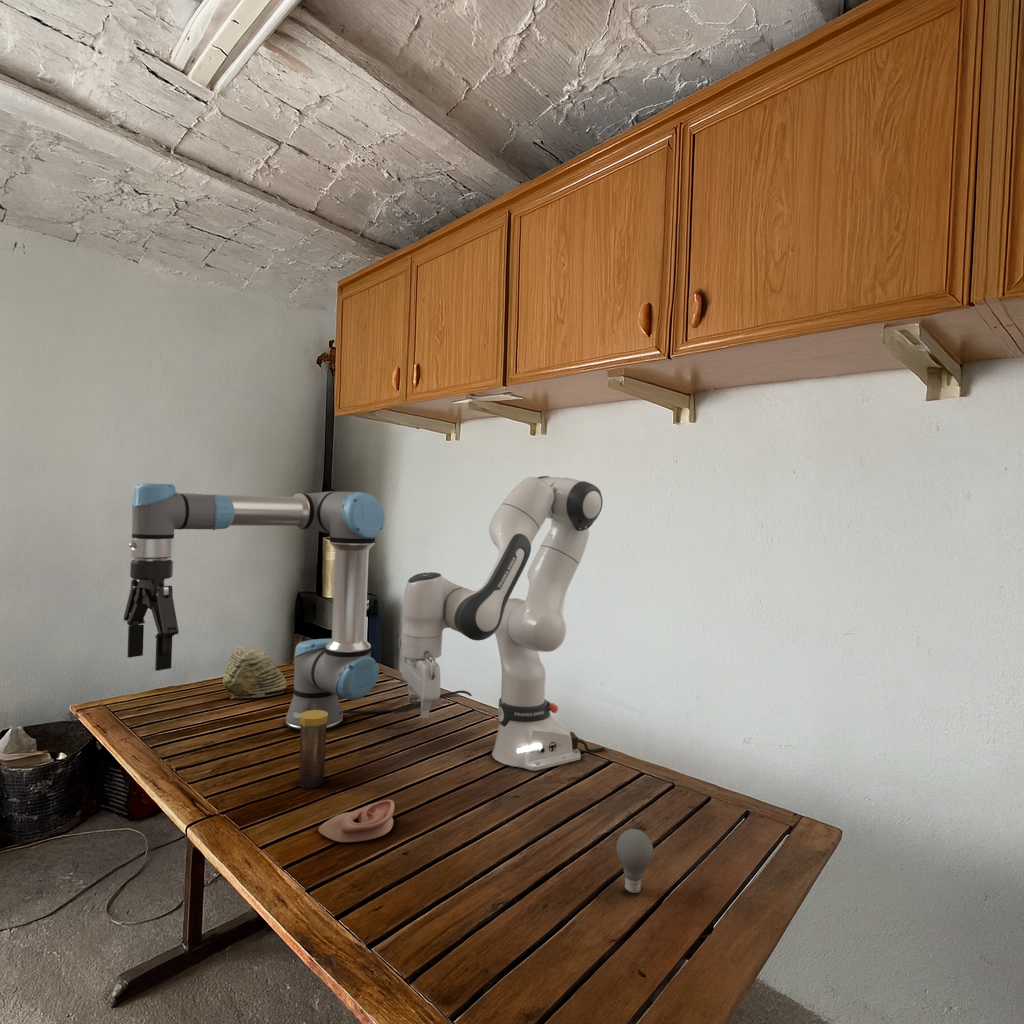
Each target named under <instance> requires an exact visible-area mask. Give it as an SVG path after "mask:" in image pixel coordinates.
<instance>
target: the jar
mask: <svg viewBox="0 0 1024 1024" xmlns="http://www.w3.org/2000/svg"><path fill="white" fill-rule="evenodd" d="M326 723H327V722H326ZM326 723H325V724H322V725H318V726H305V725H302V724H301V730H300V731H299V733H300V734H299V735H300V736H299V755H298V756H299V758H298V759H299V760H298V786H299V787H300V788H302V789H315V788H319V787H321V786H322V785H324V783H325V771H326V749H327V747H326V745H327V730H326Z"/></svg>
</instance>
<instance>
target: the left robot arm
mask: <svg viewBox="0 0 1024 1024" xmlns="http://www.w3.org/2000/svg"><path fill="white" fill-rule="evenodd" d="M385 515H386V513H385V511H384V508H383V505H382V503H381V502H380V501H379V500H378V498H377V497H375V495H373V494H370V493H367V492H363V491H362V492H361V491H337V490H336V491H335V490H333V491H332V490H330V491H321V492H311V493H295V494H294V495H293V496H276V495H275V496H274V495H273V496H272V495H248V494H247V495H246V494H244V495H243V494H220V493H219V494H218V493H217V494H216V493H215V494H214V493H189V492H187V493H186V492H177V491H176V486H175V485H174V484H173V483H152V482H139V483H137V484H136V485H135V486H134V488H133V492H132V501H131V520H132V521H131V542H130V543H128V547H129V548H130V549H131V550H130V556H131V558H133V559H132V560H131V561H130V567H129V568H130V571H129V574H130V575H129V576H130V578H131V581H130V590H129V594H128V598H127V603H126V607H125V610H124V615H123V621H124V622H126V624H127V626H128V629H127V630H128V631H127V658H135V657H142V656H144V635H145V634H144V630H145V625H144V624H145V623H146V621H145V619H144V618H145V616H146V615H147V612H148V609H149V610H151V613H152V618H153V620H154V624H155V627H156V631H157V633H156V635H155V636H154V638H155V661H154V663H155V665H154V668H155V669H154V670H155V671H157V672H159V671H164V670H169V669H172V659H173V657H172V655H173V637H175V636H176V635H179V632H180V631H179V625H178V619H177V615H176V614H177V613H176V609H175V603H174V597H173V595H174V593H173V585H165V580H167V579H171V578H172V577H173V575H174V573H173V572H174V561H173V560H172V559H171V558H173V557H174V554H175V553H174V552H175V530H213V531H215V530H224V529H228V528H230V526H233V527H234V526H237V527H238V526H240V527H243V526H246V527H247V526H249V527H250V526H258V527H259V526H268V527H269V526H276V527H277V526H282V527H284V526H285V527H286V526H287V527H288V526H289V527H290V526H291V527H293V528H294V529H296V530H308V531H309V530H310V531H316V532H319V533H325V534H329V544H330V545H331V546H332V547H333V548H334V550H335V551H334V572H333V573H334V577H333V599H332V625H331V626H332V627H331V638H317V639H308V640H304V641H300V642H299V643H297V645H296V646H295V650H294V655H293V657H294V672H293V673H294V674H293V695H292V696H293V697H292V699H291V702H290V704H289V708H288V711H287V713H286V715H285V726H286V728H287V729H289V730H291V731H294V732H295V731H296V732H300V730H301V724H300V721H299V720H300V714H301V713H303V712H305V711H310V710H322V711H326V712H327V713H328V721H327V723H326V731H329V730H332V729H335V728H337V727H339V726H340V725H342V723H343V722H344V714H382V713H391V712H398V711H404V710H407V709H412V708H415V707H418V706H421V701H418V703H417V704H410V705H406V706H402V707H396V708H388V709H377V710H343V709H342V706H341V702H340V699H339V698H341V699H342V700H343V699H344V700H348V701H349V700H350V701H357V700H360V699H362V698H364V697H365V696H367V695H368V694H370V692H371V690H372V689H374V687H375V685H376V683H377V682H378V678H379V674H380V672H379V671H380V670H379V669H380V668H379V665H378V663H377V662H376V660H375V659H374V657H371V652H372V649H371V648H372V644H371V643H370V642H368V640H367V639H366V631H367V607H368V606H367V605H368V604H367V602H368V582H369V581H368V579H369V555H370V553H369V552H370V550H371V548H372V547H374V545H375V544H376V536H378V535H379V534H380V533H381V530H383V528H384V526H385V522H386V521H385V520H386V516H385ZM457 694H466V695H467V696H469V697H472V696H473V694H472V693H471V692H469V691H467V690H455V691H452V692H446V693H440V698H441V697H447V696H453V695H457Z"/></svg>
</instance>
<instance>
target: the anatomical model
mask: <svg viewBox="0 0 1024 1024" xmlns="http://www.w3.org/2000/svg"><path fill="white" fill-rule="evenodd" d="M394 812H395V801H394V800H392V799H384V800H380V801H377V802H373V803H370V804H368V805H365V806H363V807H360V808H357V809H355V810H353V811H348V812H343V813H340V814H337V815H334V816H333V817H331V818H330V819H328V820H326V821H325V822H323V823H322V824H321V825H320V826H319V827H318V829H317V830H318V832H319V834H321V835H322V836H324V837H325V838H328V839H330V840H332V841H334V842H337V843H355V842H363V841H370V840H374V839H376V838H380V837H382V836H384V835H386V834H388V833H389V832H390V831H391V830H392V828H393V826H394V818H393V815H394Z"/></svg>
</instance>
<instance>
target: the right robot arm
mask: <svg viewBox="0 0 1024 1024" xmlns="http://www.w3.org/2000/svg"><path fill="white" fill-rule="evenodd" d="M603 504H604V503H603V496H602V491H601V490H600V488H599V487H598V486H596V485H594V484H593V483H591V482H588V481H585V480H578V479H575V478H570V477H558V476H557V477H556V476H548V475H543V476H538V477H536V476H535V477H534V476H529V477H526V478H524V479H522V481H520V483H519V482H518V484H517V485H516V486H515V487H514V488H513V489H512V490H511V491H510V492H509V494H508V495H507V496H506V498H505V499H504V500H503V501H502V502H501V504H500V505H499V507H498V508H497V510H496V511H495V513H494V514H493V516H492V518H491V520H490V523H489V526H488V532H489V537H490V539H491V541H492V543H493V545H494V546H495V547H496V548H497V550H498V556H497V560H496V561H495V564H494V565H493V567H492V569H491V571H490V573H489V574H488V576H487V578H486V580H485V582H484V583H483V585H482V586H481V587H480V588H479V589H476V590H474V589H473V590H472V589H470V588H468V587H463V586H461V585H458V584H455V583H454V582H451V581H450V580H448V579H447V578H445V577H444V576H443V575H442V574H441V573H439V572H432V571H430V572H421V573H417V574H414V575H412V576H411V577H409V579H408V580H407V582H406V585H405V589H404V596H403V604H402V607H403V608H402V617H403V628H402V630H401V637H400V638H399V639H398V647H399V649H400V671H401V677H402V678H403V679H404V681H405V682H406V683H407V691H408V702H409V703H410V705H413V704H417V703H419V699H420V702H421V704H420V707H419V716H420V718H422V719H427V718H429V717H430V710H431V707H432V704H433V702H438V701H439V700H440V698H441V697H440V694H441V667H440V665H439V663H437V662H436V659H438V658H440V657H441V656H442V652H443V651H442V650H443V631H444V630H445V629H451V630H453V631H456V632H458V633H459V634H462V635H463V636H465V637H466V638H468V639H469V640H471V641H484V640H486V639H489V638H490V637H492V636H493V635H495V638H496V639H495V640H496V643H497V648H498V653H499V654H498V655H499V660H500V666H501V667H500V668H501V682H500V683H501V685H500V698H499V699H498V707H497V708H498V709H497V710H498V711H497V721H498V727H497V732H496V738H495V742H494V746H493V749H492V752H491V756H492V758H493V759H494V760H495V761H497V762H498V763H500V764H503V765H506V766H510V767H517V768H522V769H526V770H528V771H533V772H536V771H540V770H545V769H549V768H552V767H556V766H557V767H558V766H561V765H564V764H569V763H573V762H576V761H580V760H581V758H582V756H581V751H580V749H579V744H582V745H583V746H584V749H585V751H587V752H588V753H597V752H601V751H605V747H597V748H594V749H590V748H589V747H588V744H587V742H586V741H584V740H582V739H579V737H578V736H577V735H576V733H574V731H570V730H569V729H568V728H567V727H566V726H565V725H564V724H563V723H562V722H560V720H559V719H557V718H556V717H554V716H553V715H552V714H557V713H558V711H559V705H556V703H554V702H550V701H549V700H547V699H546V677H547V676H546V675H547V673H546V668H545V666H544V663H543V662H542V661H541V657H540V652H541V653H542V652H545V653H551V652H554V651H556V650H557V649H559V648H560V647H561V646H562V644H563V643H564V641H565V638H566V636H567V625H566V622H565V618H564V607H565V601H566V596H567V592H568V590H569V587H570V585H571V583H572V581H573V579H574V576H575V574H576V572H577V570H578V567H579V566H580V563H581V561H582V559H583V557H584V553H585V551H586V548H587V544H588V542H589V538H590V529H589V528H591V526H593V524H594V523H595V522H596V521H597V519H598V517H599V516H600V514H601V511H602V509H603ZM547 519H549V520H550V529H549V531H548V532H547V534H546V535H545V537H544V539H543V540H542V542H541V544H540V546H539V548H538V550H537V552H536V553H535V556H534V558H533V560H532V562H531V564H530V566H529V567H528V570H527V574H526V575H527V579H528V591H527V595H526V598H525V600H524V599H521V598H518V597H511V594H512V592H513V591H514V589H515V587H516V585H517V584H518V581H519V580H520V577H521V575H522V573H523V571H524V569H525V568H526V565H527V563H528V561H529V558H530V555H531V552H532V543H533V541H534V539H535V538H536V536H537V534H538V533H539V531H540V529H542V527H543V524H544V523H545V521H546V520H547ZM551 713H552V714H551Z"/></svg>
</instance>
